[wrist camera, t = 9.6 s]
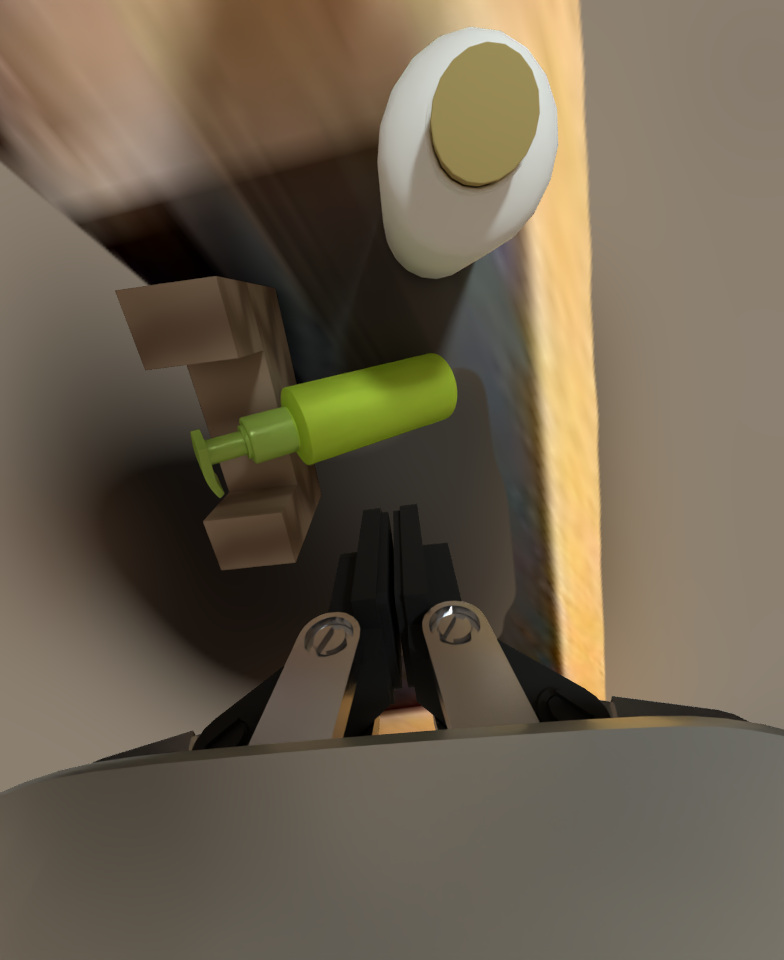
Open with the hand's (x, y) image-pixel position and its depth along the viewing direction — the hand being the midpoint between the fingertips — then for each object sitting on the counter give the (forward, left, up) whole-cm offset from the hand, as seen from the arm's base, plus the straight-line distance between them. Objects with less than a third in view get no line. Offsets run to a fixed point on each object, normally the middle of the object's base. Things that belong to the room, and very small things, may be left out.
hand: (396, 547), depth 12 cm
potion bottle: (-13, +5, -27) cm, 30 cm away
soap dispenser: (0, +4, -24) cm, 25 cm away
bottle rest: (0, -12, -27) cm, 29 cm away
